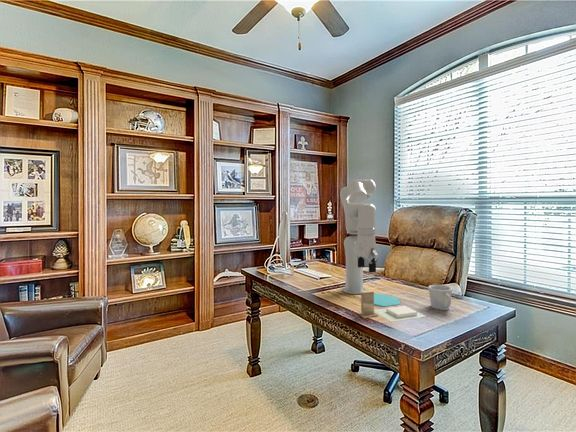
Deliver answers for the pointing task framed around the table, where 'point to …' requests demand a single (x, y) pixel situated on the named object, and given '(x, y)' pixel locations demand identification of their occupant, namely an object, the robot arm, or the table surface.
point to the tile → (401, 311)
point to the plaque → (385, 300)
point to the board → (394, 318)
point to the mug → (440, 296)
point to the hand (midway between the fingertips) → (366, 269)
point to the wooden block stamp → (367, 304)
